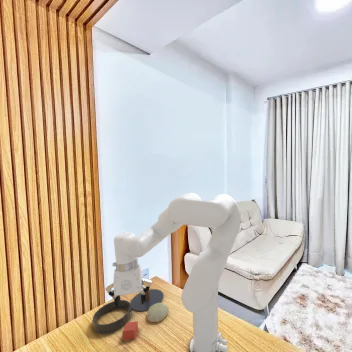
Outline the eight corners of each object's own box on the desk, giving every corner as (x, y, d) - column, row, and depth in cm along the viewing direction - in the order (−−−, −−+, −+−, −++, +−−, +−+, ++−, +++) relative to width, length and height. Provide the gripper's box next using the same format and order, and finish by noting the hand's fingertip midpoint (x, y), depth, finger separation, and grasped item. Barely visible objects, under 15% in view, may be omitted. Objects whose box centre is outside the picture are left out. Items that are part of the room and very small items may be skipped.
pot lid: (169, 294, 109) (169, 283, 108) (147, 316, 94) (146, 303, 94) (147, 288, 114) (146, 277, 113) (123, 307, 100) (122, 295, 99)
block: (138, 330, 87) (137, 321, 86) (134, 339, 82) (134, 329, 82) (127, 332, 86) (126, 322, 86) (123, 341, 82) (122, 331, 81)
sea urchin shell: (163, 301, 101) (166, 296, 96) (168, 318, 98) (172, 314, 93) (143, 310, 96) (146, 305, 91) (148, 328, 92) (151, 325, 87)
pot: (138, 313, 96) (138, 304, 96) (110, 339, 83) (109, 329, 82) (116, 305, 101) (115, 297, 101) (85, 329, 88) (84, 319, 87)
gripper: (99, 272, 77) (103, 314, 79) (147, 266, 80) (151, 307, 82) (107, 261, 84) (112, 300, 86) (152, 256, 87) (155, 294, 89)
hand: (131, 303), depth 84 cm, fingers open, 9 cm apart
